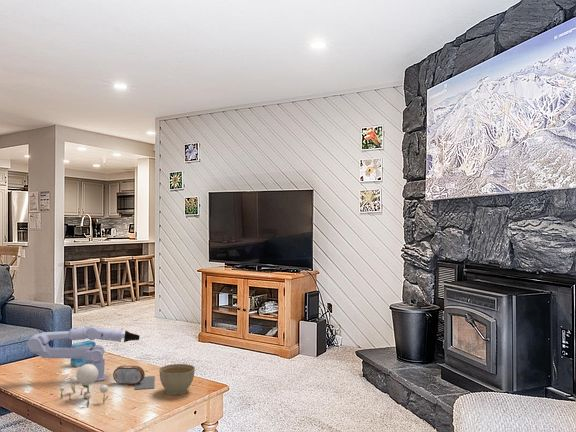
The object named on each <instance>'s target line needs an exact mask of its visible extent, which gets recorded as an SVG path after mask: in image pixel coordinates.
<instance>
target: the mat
mask: <svg viewBox="0 0 576 432" xmlns="http://www.w3.org/2000/svg"><path fill="white" fill-rule="evenodd" d="M155 377H156V376H155V375H152V376H151V375H149V376H144V379H143V380H142V381H141V382H140V383H138V384H134V391H139V390H140V391H141V390H150V389H152V390H154V389H155Z"/></svg>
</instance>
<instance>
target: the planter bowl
mask: <svg viewBox="0 0 576 432" xmlns="http://www.w3.org/2000/svg"><path fill="white" fill-rule="evenodd" d="M158 371H159V379H160V383H161V385H162V387H163V388H164V389H165V393H166V394H167V395H171V396H177V395H178V396H180V395H184V394H185V393H187V392H188V389H189V388H190V386H191V385H192V383H193V382H194V381H193V380H194V377H195V371H196V367H195V366H194V365H191V364H187V363H173V364H167V365H164V366H161V367H160V368H159V370H158Z"/></svg>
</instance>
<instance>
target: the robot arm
mask: <svg viewBox="0 0 576 432" xmlns="http://www.w3.org/2000/svg"><path fill="white" fill-rule="evenodd" d="M123 332H124V327H121V329H116V328H107V327H105V328H104V327H102V328H101V327H97V326H95V325H90V326H85V327H77V326H74V327H72V328H70V330H69V331H68V330H67V331H64V330H63V331H44V332H43V331H42V332H41V333H39V332H38V333H35V334H33V335H31V337H30V338H29V339H28V340H27V342H26V347H27V349H28V350H29V351H30V352H31V353H32V354H35V355H37V356H39V357H41V358H43V359H71V358H81V359H85V360H89V361H86V362H85V364H92V365H94V366H95V367H96V368H97V369H98V377H97V379H96V381H95V382H97V381H98V382H99V381H105V379H106V376H107V375H106V374H105V360H106V359H105V357H104V354H105V348H104V346H102V345H100V344H97V345H96V346H93V347H87V348H71V347H52V346H50V345H49V344H48V343H49V342H50V341H53V340H55V341H56V340H63V339H69V340H70V341H78V340H80V341H82V340H86V339H87V340H89V341H94V340H99V341H100V340H101V341H102V340H103V341H112V342H119V343H121V342H122V339H123V343H127V342H131V341H139V340H140V335H139V334H136V333H132V332H129V331H128V330H125V332H124V333H123ZM85 364H84V365H85Z"/></svg>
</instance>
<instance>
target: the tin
mask: <svg viewBox="0 0 576 432" xmlns="http://www.w3.org/2000/svg"><path fill="white" fill-rule="evenodd" d="M112 377H113V380H114V382H116V383H117V384H119V385H120V384H121V385H135V384H138V383H140V382H141V381H142V380H143V379H144V377H146V375H145V371H144V368H142V367H141V366H139V365H120V366H118V367H116V368H115V369H114V370H113V373H112Z"/></svg>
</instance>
